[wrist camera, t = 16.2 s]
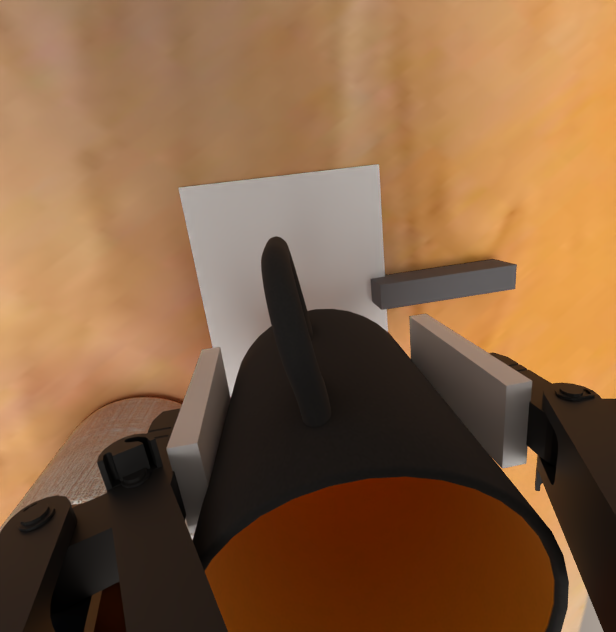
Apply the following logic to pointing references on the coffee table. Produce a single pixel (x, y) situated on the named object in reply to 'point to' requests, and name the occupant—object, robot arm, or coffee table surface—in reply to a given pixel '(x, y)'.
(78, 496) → the planter
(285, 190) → the mat
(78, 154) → the coffee table surface
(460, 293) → the dock
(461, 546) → the mug
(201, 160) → the coffee table surface
